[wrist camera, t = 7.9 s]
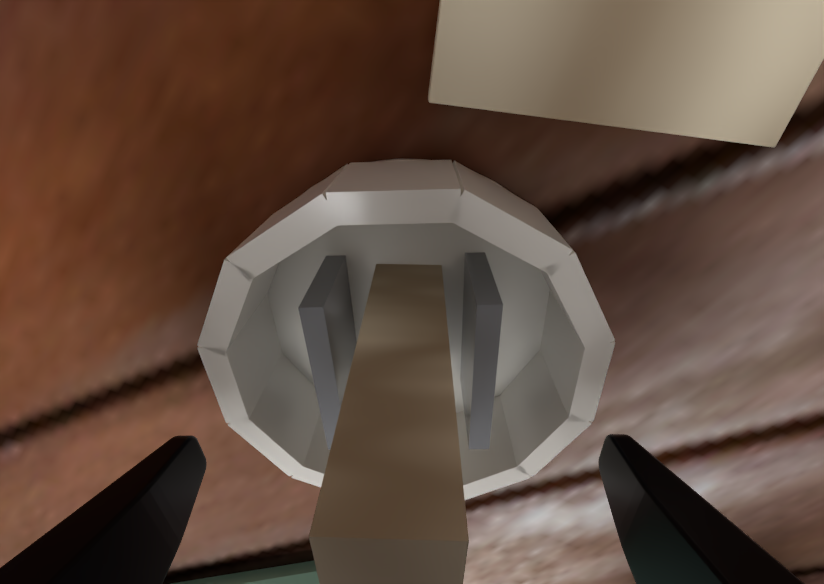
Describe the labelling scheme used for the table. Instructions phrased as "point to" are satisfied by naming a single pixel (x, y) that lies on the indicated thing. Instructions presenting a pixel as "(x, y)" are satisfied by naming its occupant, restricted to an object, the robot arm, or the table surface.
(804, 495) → the table surface
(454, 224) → the white round dish
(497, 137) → the table surface
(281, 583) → the mint green faceted bar
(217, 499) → the table surface
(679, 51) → the beige flat block
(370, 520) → the beige long wooden block
